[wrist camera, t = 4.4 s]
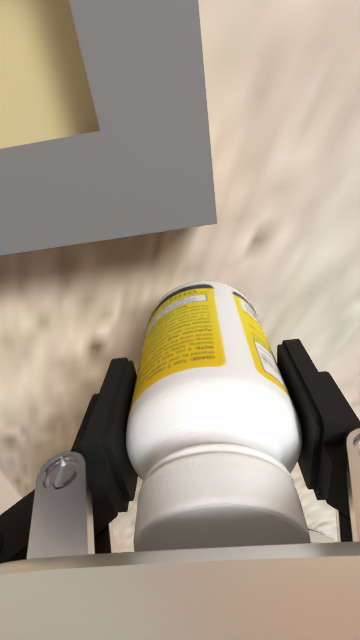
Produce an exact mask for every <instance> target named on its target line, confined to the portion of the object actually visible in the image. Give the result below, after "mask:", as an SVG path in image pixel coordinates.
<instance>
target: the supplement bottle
mask: <svg viewBox="0 0 360 640" xmlns="http://www.w3.org/2000/svg"><path fill="white" fill-rule="evenodd" d="M301 448H302V430H301V425H300V421H299V418H298V415H297V411H296V409H295V407H294V404H293V402H292V399H291V397H290V395H289V392H288V389H287V387H286V385H285V383H284V380H283V378H282V375H281V372H280V370H279V367H278V365H277V363H276V360H275V358H274V356H273V353H272V351H271V348H270V346H269V343H268V341H267V338H266V336H265V333H264V331H263V329H262V326H261V323H260V321H259V319H258V317H257V314H256V312H255V310H254V309H253V307H252V305H251V304H250V302H249V301H248V300H247V299H246V297H245V296H244V295H242V294H241V293H240V292H239V291H237V290H236V289H234V288H232V287H230V286H228V285H225V284H222V283H218V282H213V281H196V282H191V283H187V284H183V285H181V286H179V287H176V288H175V289H173V290H171V291H170V292H168V293H167V294H166V295H165V296H164V297H163V298H162V299H161V300H160V301H159V302H158V304H157V305H156V307H155V308H154V310H153V312H152V314H151V317H150V320H149V324H148V329H147V332H146V337H145V341H144V345H143V350H142V355H141V359H140V364H139V369H138V374H137V379H136V384H135V389H134V393H133V398H132V403H131V408H130V412H129V416H128V422H127V430H126V449H127V454H128V457H129V460H130V462H131V464H132V466H133V468H134V470H135V472H136V473H137V474H138V476H139V477H140V478H141V479H142V480H143V483H142V487H141V489H140V492H139V495H138V504H137V516H136V525H135V533H134V550H135V552H142V551H160V550H180V549H201V548H222V547H243V546H264V545H287V544H310V543H311V541H310V534H309V530H308V527H307V524H306V521H305V517H304V514H303V510H302V506H301V503H300V500H299V496H298V493H297V490H296V488H295V486H294V483H293V479H292V477H291V475H290V473H291V472H292V470H293V468H294V467H295V465H296V463H297V461H298V458H299V456H300V452H301Z"/></svg>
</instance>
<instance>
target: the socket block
mask: <svg viewBox="0 0 360 640" xmlns="http://www.w3.org/2000/svg"><path fill="white" fill-rule="evenodd" d="M211 224H217V217H216V205H215V193H214V182H213V170H212V158H211V147H210V135H209V123H208V111H207V100H206V88H205V76H204V65H203V53H202V41H201V30H200V18H199V6H198V0H0V256H1V255H8V254H14V253H21V252H28V251H35V250H41V249H48V248H55V247H62V246H68V245H75V244H82V243H89V242H96V241H102V240H109V239H116V238H123V237H129V236H136V235H143V234H150V233H156V232H163V231H170V230H177V229H184V228H190V227H197V226H204V225H211Z"/></svg>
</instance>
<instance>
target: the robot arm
mask: <svg viewBox="0 0 360 640" xmlns="http://www.w3.org/2000/svg"><path fill="white" fill-rule="evenodd" d="M277 365H278V367H279V370H280V372H281V375H282V378H283V380H284V383H285V385H286V387H287V389H288V392H289V395H290V397H291V399H292V402H293V404H294V407H295V409H296V411H297V415H298V418H299V421H300V425H301V430H302V448H301V452H300V456H299V458H298V464H299V467H300V469H301V472H302V475H303V478H304V481H305V484H306V486H307V488H308V489H313V490H314V493H315V495H316V498H317V500H326V502H327V504H329V505H330V506H332V507H333V508H335V509H336V523H337V538H338V542H334V541H333V540H332V539H330V538H329V537H327V536H325V535H323V534H321V533H318V532H316V531H312V530H309V534H310V541H311V543H310V544H287V545H264V546H243V547H222V548H201V549H180V550H160V551H142V552H123V553H115V545H114V535H113V526H112V520H113V519H114V518H116V517H117V515H118V512H127V510H128V505H129V501H133V500H134V497H135V491H136V484H137V478H138V474H137V473H136V472H135V470H134V468H133V466H132V464H131V462H130V460H129V457H128V454H127V449H126V430H127V422H128V416H129V412H130V408H131V403H132V398H133V393H134V389H135V384H136V379H137V375H136V371H135V367H134V364H133V361H128V359H127V358H117V359H112V360H111V363H110V365H109V368H108V371H107V374H106V376H105V379H104V382H103V385H102V387H101V390H100V393H99V394H94V395H93V396H92V398H91V401H90V403H89V406H88V408H87V411H86V414H85V416H84V419H83V421H82V424H81V426H80V429H79V431H78V434H77V437H76V439H75V442H74V444H73V447H72V449H71V451H68V452H64V453H61V454H59V455H56V456H54V457H53V458H52V459H50V460H49V461H48V462H47V463H46V464H45V465H44V466H43V467H42V469H41V470H40V472H39V474H38V477H37V480H36V487H35V490H33V491H32V492H31V493H29V494H28V495H27V496H25V497H24V498H23V499H21V500H20V501H19V502H17V503H16V504H15V505H13V506H12V507H11V508H9V509H8V510H7V511H5V512H4V513H2V514H1V515H0V640H360V421H359V419H358V418H357V416H356V414H355V413H354V411H353V410H352V408H351V407H350V405H349V403H348V402H347V400H346V399H345V397H344V395H343V394H342V392H341V391H340V389H339V388H338V386H337V384H336V383H335V381H334V380H333V378H332V376H331V375H330V374H329V373H328V372H327V371H324V372H318V370H317V369H316V367H315V365H314V364H313V362H312V360H311V358H310V357H309V355H308V353H307V352H306V350H305V348H304V347H303V345H302V343H301V341H300V340H299V339H292V340H283V342H282V344H281V345H278V346H277Z"/></svg>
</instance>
